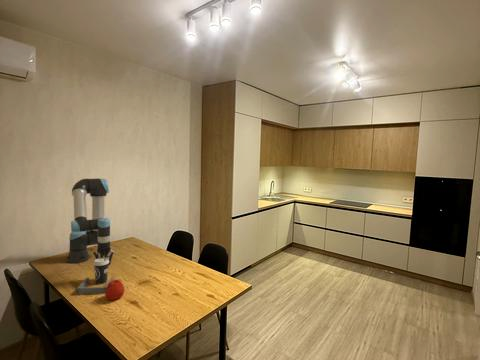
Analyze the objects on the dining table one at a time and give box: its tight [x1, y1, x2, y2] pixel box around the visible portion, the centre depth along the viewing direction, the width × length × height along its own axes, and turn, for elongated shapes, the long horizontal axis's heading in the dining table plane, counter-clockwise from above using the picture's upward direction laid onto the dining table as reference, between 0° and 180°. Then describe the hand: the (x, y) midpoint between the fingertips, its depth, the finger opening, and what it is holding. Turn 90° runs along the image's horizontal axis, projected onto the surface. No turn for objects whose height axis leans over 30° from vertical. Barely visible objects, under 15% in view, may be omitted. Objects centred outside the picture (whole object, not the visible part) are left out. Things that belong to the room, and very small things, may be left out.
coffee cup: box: [92, 257, 109, 285], centre depth 172 cm, size 10×10×15 cm
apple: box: [104, 279, 125, 301], centre depth 154 cm, size 10×10×10 cm
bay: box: [76, 276, 115, 295], centre depth 164 cm, size 14×16×4 cm
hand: (104, 275), depth 177 cm, fingers closed
